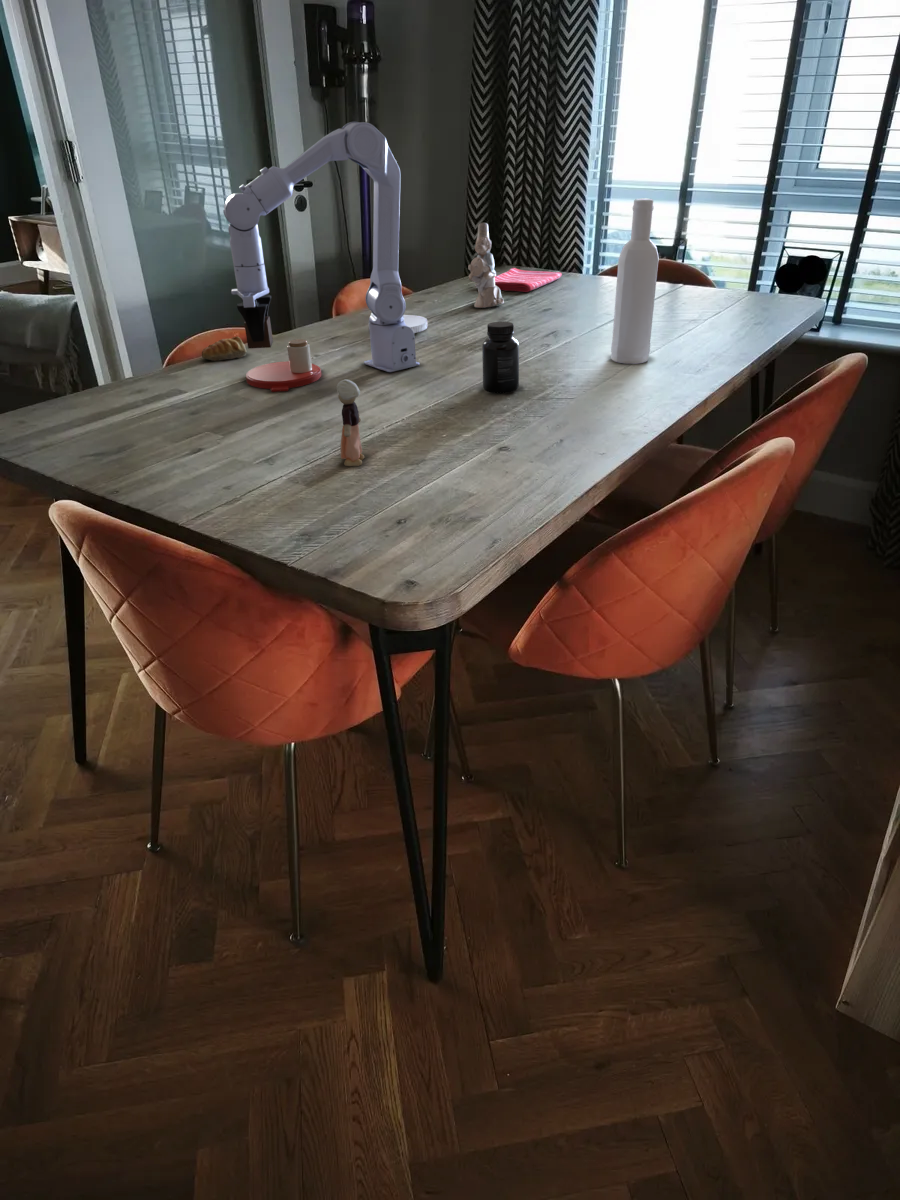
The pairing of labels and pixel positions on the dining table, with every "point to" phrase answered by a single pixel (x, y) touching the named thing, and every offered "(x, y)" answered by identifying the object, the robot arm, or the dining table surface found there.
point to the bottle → (635, 290)
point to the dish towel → (524, 279)
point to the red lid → (280, 376)
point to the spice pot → (299, 356)
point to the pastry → (225, 349)
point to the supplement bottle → (500, 359)
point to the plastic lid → (415, 323)
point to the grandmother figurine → (350, 424)
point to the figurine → (484, 271)
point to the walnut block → (267, 336)
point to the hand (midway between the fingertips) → (259, 337)
